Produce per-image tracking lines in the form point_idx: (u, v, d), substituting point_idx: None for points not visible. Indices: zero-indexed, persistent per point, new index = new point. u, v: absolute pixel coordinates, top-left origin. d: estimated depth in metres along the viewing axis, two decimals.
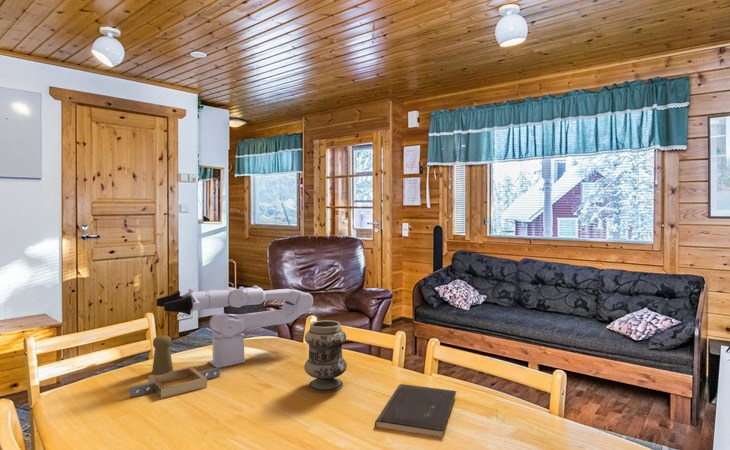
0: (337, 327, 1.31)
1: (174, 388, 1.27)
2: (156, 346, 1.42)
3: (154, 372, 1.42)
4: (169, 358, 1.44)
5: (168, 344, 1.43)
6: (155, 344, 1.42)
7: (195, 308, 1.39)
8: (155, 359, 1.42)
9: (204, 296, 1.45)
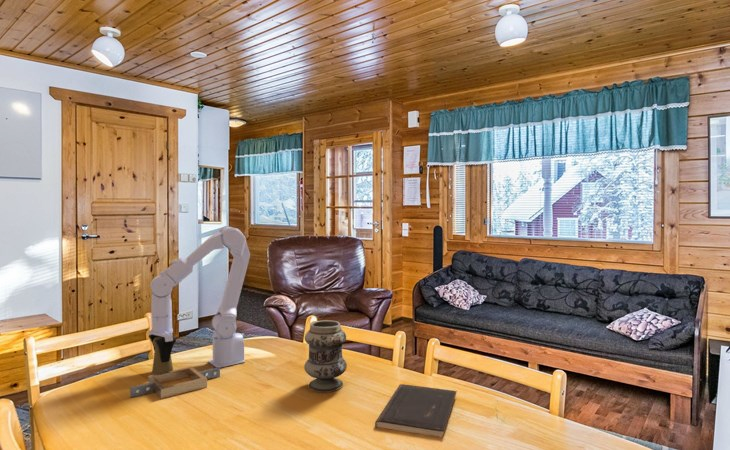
0: (337, 327, 1.31)
1: (174, 388, 1.27)
2: (156, 346, 1.42)
3: (154, 372, 1.42)
4: None
5: None
6: (155, 344, 1.42)
7: (171, 339, 1.39)
8: (155, 359, 1.42)
9: (158, 322, 1.41)
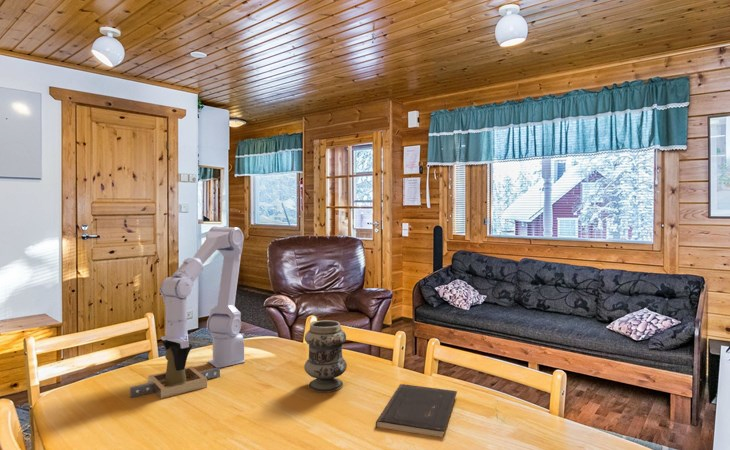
0: (337, 327, 1.31)
1: (174, 388, 1.27)
2: (168, 358, 1.31)
3: None
4: (182, 372, 1.32)
5: None
6: (167, 356, 1.31)
7: (187, 345, 1.28)
8: (167, 372, 1.31)
9: (172, 326, 1.30)
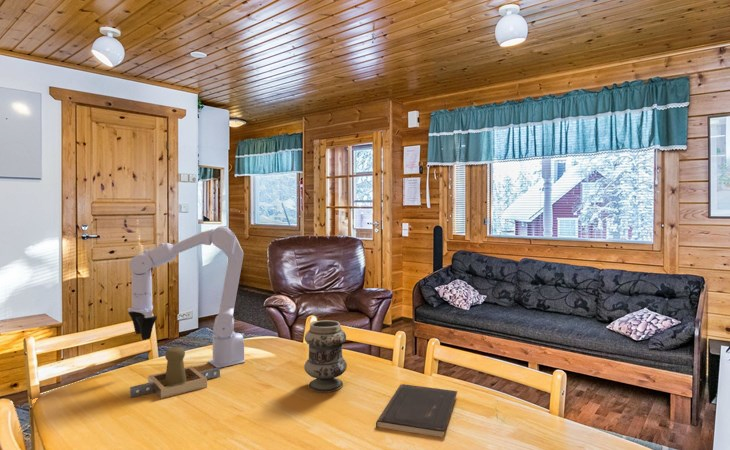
0: (337, 327, 1.31)
1: (174, 388, 1.27)
2: (168, 358, 1.31)
3: None
4: (182, 372, 1.32)
5: (181, 356, 1.32)
6: (167, 356, 1.31)
7: (151, 315, 1.40)
8: (167, 372, 1.31)
9: (138, 298, 1.43)
